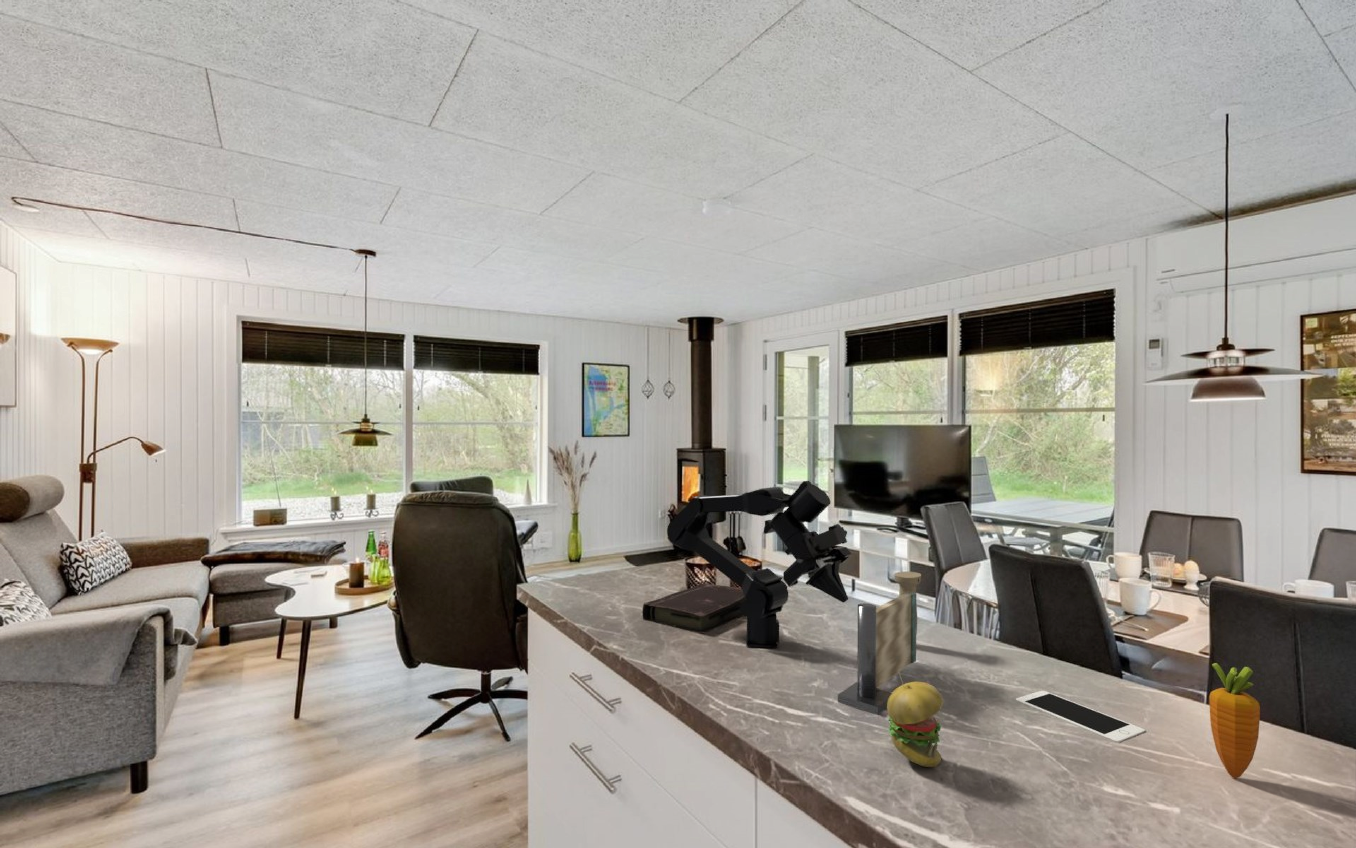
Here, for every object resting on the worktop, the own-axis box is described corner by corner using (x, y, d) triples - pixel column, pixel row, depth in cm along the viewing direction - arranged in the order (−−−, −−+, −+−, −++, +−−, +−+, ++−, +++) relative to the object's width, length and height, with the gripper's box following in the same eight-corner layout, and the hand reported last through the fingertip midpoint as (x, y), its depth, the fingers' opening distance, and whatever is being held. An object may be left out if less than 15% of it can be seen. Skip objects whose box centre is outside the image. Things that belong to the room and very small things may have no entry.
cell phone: (1117, 745, 90) (1117, 741, 90) (1014, 702, 105) (1014, 698, 105) (1146, 734, 94) (1146, 729, 94) (1042, 693, 108) (1042, 690, 108)
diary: (641, 622, 148) (641, 601, 148) (700, 600, 168) (700, 581, 168) (705, 637, 137) (704, 614, 137) (760, 611, 157) (760, 591, 157)
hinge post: (877, 714, 99) (878, 614, 99) (837, 701, 103) (838, 606, 104) (895, 700, 104) (895, 605, 104) (856, 689, 109) (856, 598, 109)
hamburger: (949, 779, 81) (949, 687, 81) (891, 773, 82) (892, 682, 82) (935, 749, 88) (935, 665, 88) (882, 744, 89) (883, 661, 90)
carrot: (1199, 768, 84) (1199, 657, 84) (1232, 767, 84) (1232, 657, 84) (1235, 790, 79) (1235, 672, 79) (1271, 788, 79) (1270, 671, 79)
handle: (925, 644, 132) (925, 574, 132) (910, 651, 127) (911, 579, 128) (904, 638, 135) (904, 570, 136) (889, 645, 131) (889, 574, 131)
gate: (876, 690, 104) (876, 613, 105) (866, 687, 106) (866, 611, 106) (916, 661, 118) (916, 593, 118) (906, 658, 119) (907, 591, 119)
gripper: (797, 516, 116) (852, 585, 109) (843, 507, 130) (894, 568, 123) (762, 552, 121) (811, 620, 114) (809, 540, 135) (856, 600, 128)
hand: (845, 601), depth 119 cm, fingers closed
